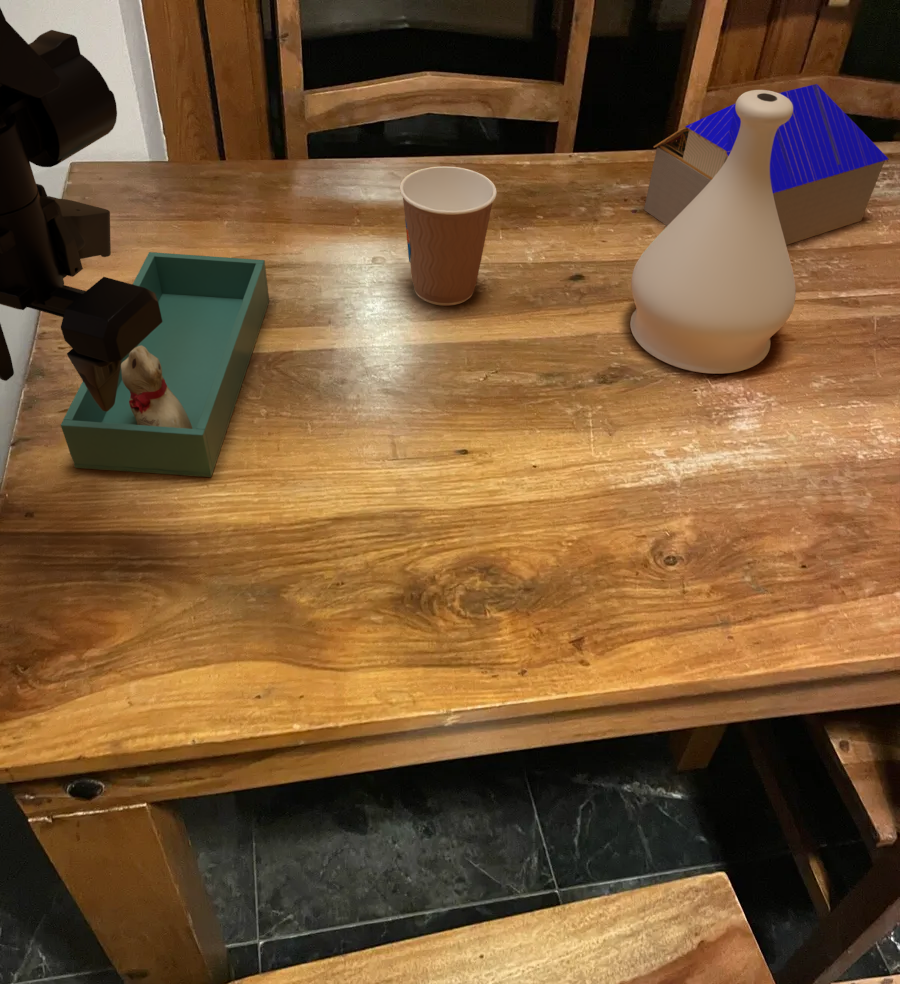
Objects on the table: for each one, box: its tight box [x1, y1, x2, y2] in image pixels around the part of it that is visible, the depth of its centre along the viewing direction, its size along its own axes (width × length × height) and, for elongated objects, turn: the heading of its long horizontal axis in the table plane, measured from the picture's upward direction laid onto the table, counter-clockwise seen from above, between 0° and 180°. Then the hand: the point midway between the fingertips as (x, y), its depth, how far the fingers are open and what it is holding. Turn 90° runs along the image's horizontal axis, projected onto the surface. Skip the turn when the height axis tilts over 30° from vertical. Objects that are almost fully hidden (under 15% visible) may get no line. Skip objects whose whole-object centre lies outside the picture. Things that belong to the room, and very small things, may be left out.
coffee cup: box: [399, 165, 497, 307], centre depth 104 cm, size 10×10×12 cm
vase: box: [629, 89, 797, 375], centre depth 95 cm, size 17×17×25 cm
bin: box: [60, 251, 270, 478], centre depth 94 cm, size 30×13×5 cm, turn 177°
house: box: [643, 83, 890, 246], centre depth 117 cm, size 25×16×16 cm, turn 122°
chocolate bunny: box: [121, 345, 193, 429], centre depth 85 cm, size 6×8×10 cm
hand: (57, 392), depth 72 cm, fingers open, 9 cm apart
